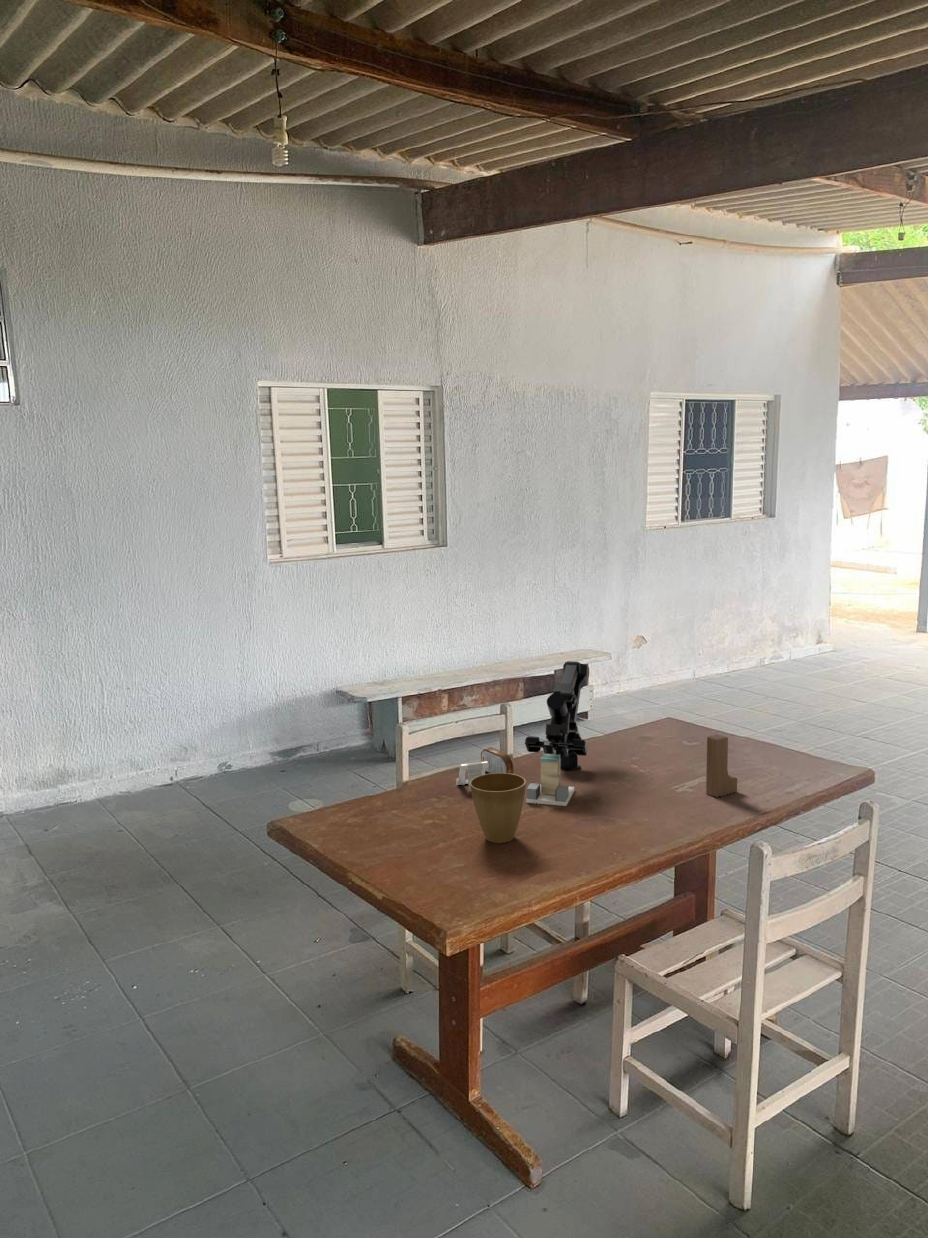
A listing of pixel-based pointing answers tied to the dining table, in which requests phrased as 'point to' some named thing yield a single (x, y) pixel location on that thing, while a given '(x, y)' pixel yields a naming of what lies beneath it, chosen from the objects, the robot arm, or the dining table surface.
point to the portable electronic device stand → (471, 772)
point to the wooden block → (718, 767)
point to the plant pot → (498, 804)
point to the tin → (497, 761)
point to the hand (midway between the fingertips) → (552, 770)
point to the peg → (550, 773)
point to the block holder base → (559, 798)
